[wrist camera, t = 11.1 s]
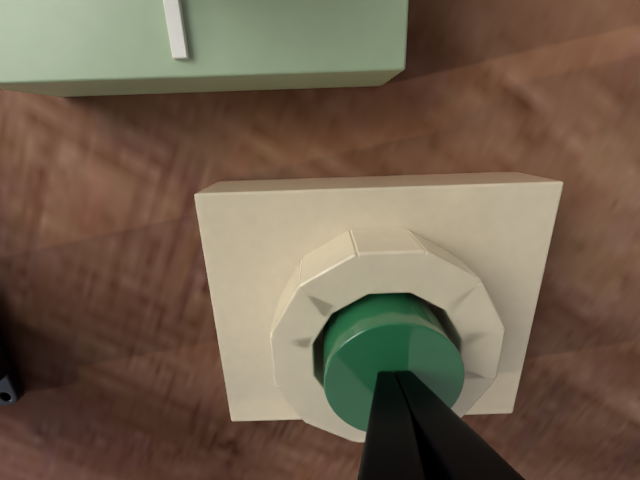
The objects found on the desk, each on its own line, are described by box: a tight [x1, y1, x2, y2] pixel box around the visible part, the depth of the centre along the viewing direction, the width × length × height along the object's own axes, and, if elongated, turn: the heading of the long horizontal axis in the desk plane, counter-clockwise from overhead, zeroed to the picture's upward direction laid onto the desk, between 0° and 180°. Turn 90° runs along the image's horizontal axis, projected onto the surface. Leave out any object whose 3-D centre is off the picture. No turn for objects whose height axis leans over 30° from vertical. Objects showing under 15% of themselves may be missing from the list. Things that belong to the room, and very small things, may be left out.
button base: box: [194, 172, 563, 442], centre depth 11 cm, size 11×9×4 cm
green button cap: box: [322, 293, 465, 432], centre depth 9 cm, size 4×4×2 cm
